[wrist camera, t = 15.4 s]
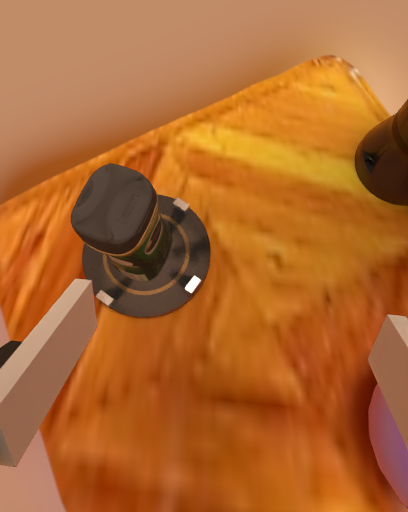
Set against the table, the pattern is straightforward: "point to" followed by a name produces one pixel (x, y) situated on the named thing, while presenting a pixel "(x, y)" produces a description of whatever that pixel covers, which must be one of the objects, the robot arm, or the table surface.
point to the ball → (388, 445)
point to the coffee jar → (123, 221)
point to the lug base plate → (169, 278)
